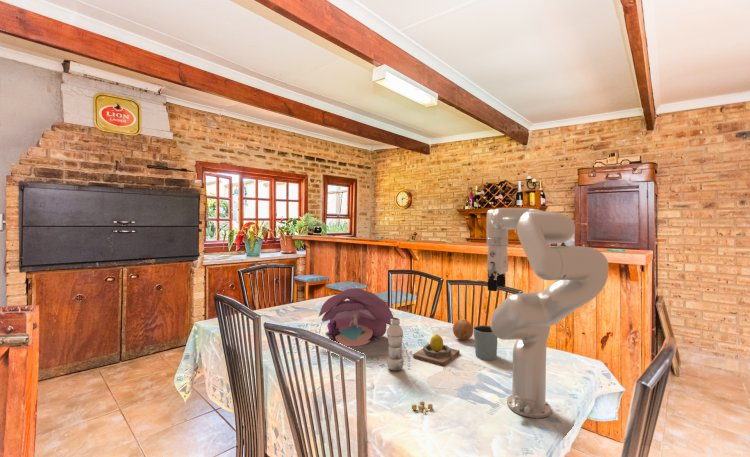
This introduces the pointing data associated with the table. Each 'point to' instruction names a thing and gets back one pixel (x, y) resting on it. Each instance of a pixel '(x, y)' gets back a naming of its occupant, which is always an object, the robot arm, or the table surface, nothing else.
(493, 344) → the grey cup
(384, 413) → the table surface
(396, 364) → the plastic bottle
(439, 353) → the holder
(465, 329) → the onion
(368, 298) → the purple shell playhouse
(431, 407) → the dice set
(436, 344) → the lemon
